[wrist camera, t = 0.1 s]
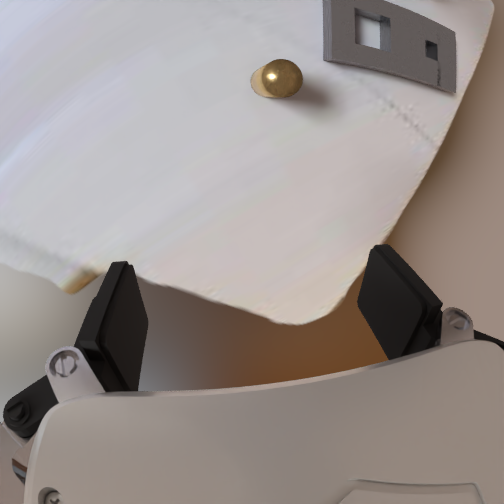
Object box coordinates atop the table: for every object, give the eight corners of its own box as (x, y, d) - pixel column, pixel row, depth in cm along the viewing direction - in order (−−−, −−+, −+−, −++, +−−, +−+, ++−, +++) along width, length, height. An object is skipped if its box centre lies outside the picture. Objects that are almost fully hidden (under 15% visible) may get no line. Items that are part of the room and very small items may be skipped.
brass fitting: (250, 66, 32) (261, 58, 24) (283, 68, 32) (302, 60, 25) (250, 96, 34) (261, 96, 27) (282, 97, 35) (302, 98, 27)
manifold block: (322, -9, 26) (330, -15, 23) (444, 32, 29) (455, 32, 26) (323, 60, 32) (331, 58, 30) (444, 90, 35) (455, 92, 32)
